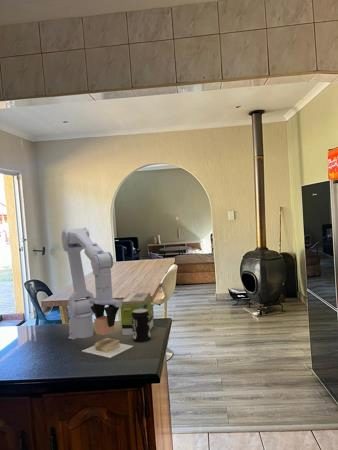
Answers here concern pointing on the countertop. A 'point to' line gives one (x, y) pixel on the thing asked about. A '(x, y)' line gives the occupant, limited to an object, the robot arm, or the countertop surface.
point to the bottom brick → (107, 345)
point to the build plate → (109, 354)
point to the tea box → (131, 304)
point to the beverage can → (140, 325)
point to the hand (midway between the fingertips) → (106, 325)
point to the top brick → (102, 325)
